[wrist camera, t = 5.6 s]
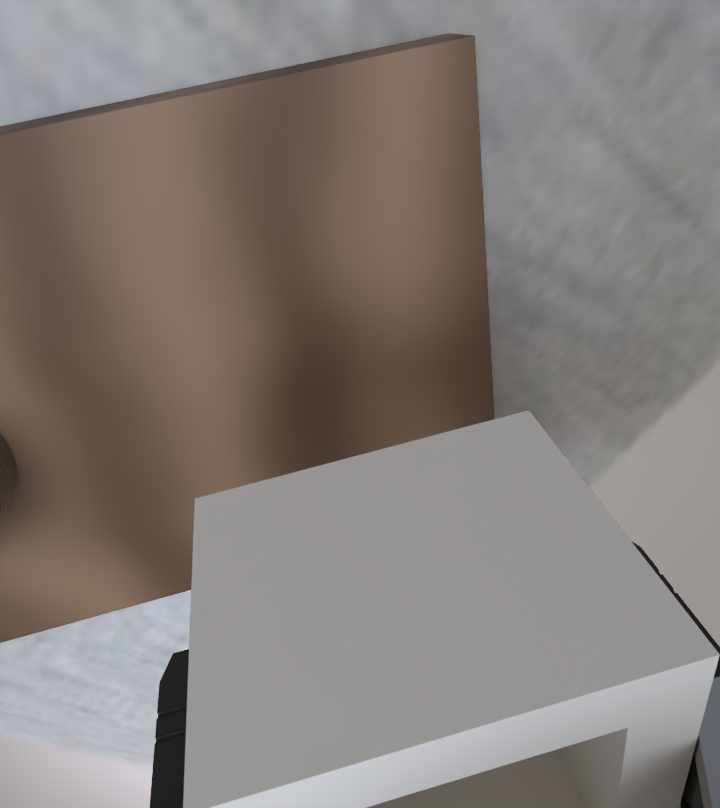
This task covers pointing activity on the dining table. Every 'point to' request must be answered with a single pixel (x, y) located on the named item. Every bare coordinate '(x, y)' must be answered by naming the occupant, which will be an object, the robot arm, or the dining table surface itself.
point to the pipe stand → (227, 306)
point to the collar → (435, 638)
